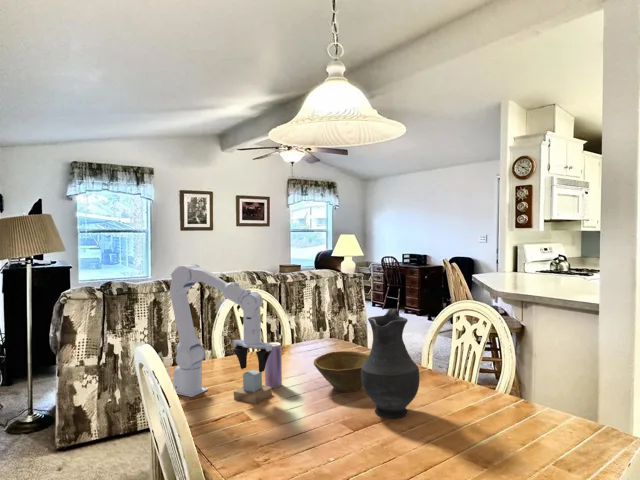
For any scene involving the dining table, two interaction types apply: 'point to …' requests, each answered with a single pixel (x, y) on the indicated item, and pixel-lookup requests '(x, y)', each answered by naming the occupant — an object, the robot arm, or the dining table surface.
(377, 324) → the pitcher
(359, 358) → the bowl
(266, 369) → the beverage can
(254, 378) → the pale grey-blue block
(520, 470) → the dining table surface
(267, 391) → the tan block
